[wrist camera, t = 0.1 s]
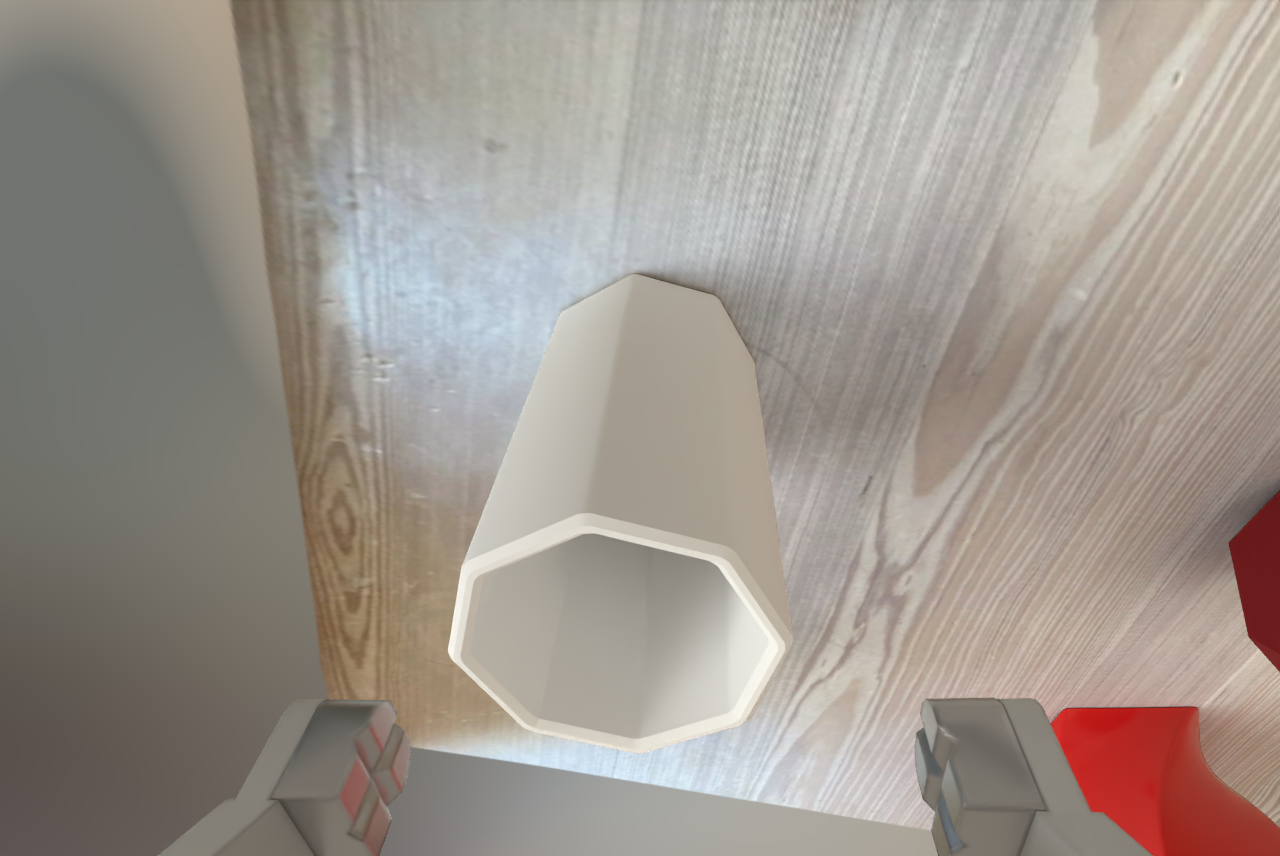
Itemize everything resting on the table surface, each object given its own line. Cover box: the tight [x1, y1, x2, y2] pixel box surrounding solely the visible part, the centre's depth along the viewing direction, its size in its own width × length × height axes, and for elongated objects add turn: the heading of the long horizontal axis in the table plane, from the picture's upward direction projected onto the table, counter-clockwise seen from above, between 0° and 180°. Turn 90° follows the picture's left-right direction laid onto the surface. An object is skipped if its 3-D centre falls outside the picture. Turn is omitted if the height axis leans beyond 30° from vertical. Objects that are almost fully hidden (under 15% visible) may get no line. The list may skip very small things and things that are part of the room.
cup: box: [448, 274, 793, 753], centre depth 30 cm, size 11×11×18 cm
